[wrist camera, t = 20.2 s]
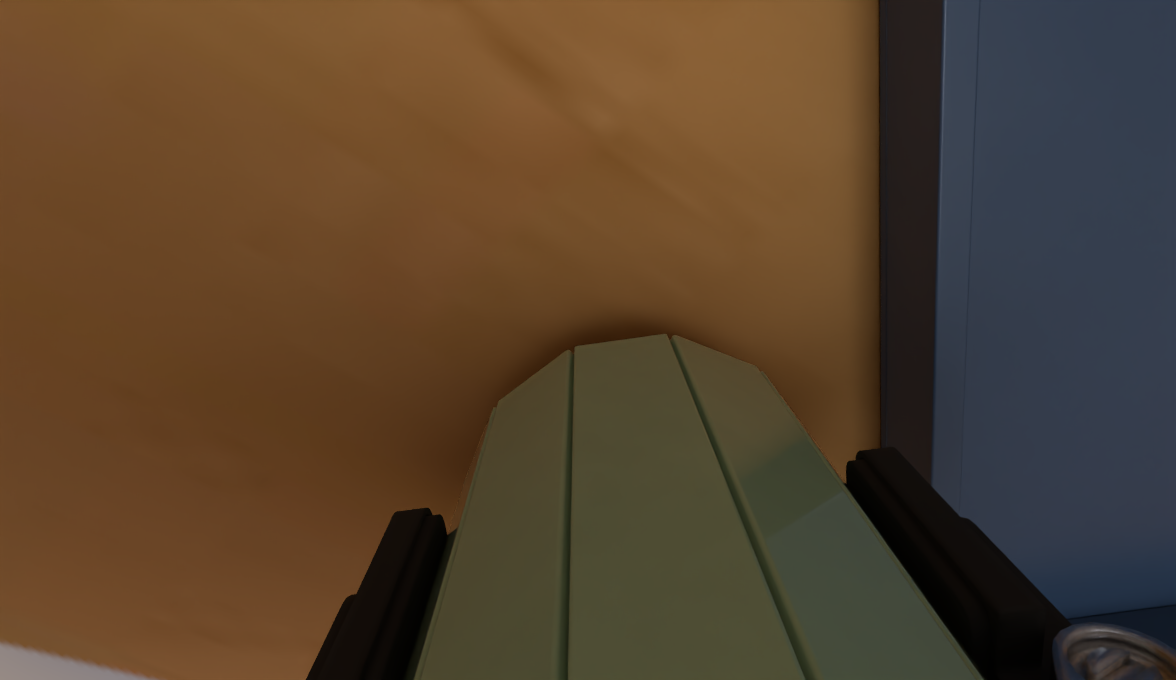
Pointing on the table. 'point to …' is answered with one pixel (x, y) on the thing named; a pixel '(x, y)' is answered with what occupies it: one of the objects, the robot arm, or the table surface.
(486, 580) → the ceramic cup
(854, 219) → the table surface
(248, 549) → the table surface
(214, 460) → the table surface
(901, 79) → the tray
